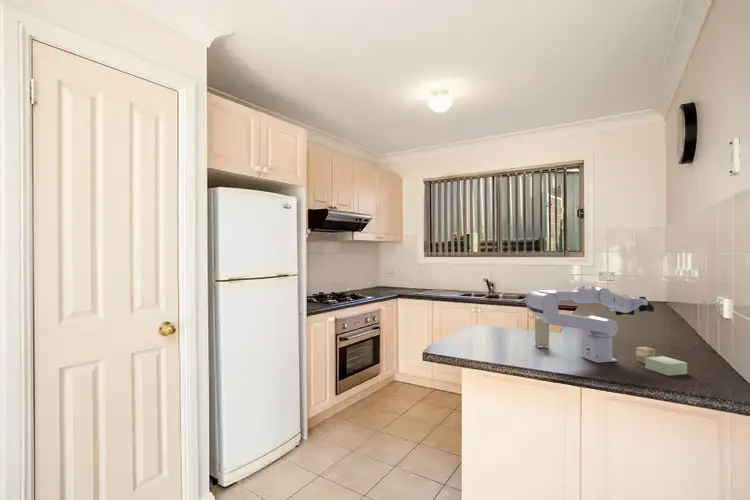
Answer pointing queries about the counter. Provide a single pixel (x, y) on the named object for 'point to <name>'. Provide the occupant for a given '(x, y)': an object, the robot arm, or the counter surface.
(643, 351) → the birch block
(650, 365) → the sage base block
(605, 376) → the counter surface
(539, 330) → the skincare box
